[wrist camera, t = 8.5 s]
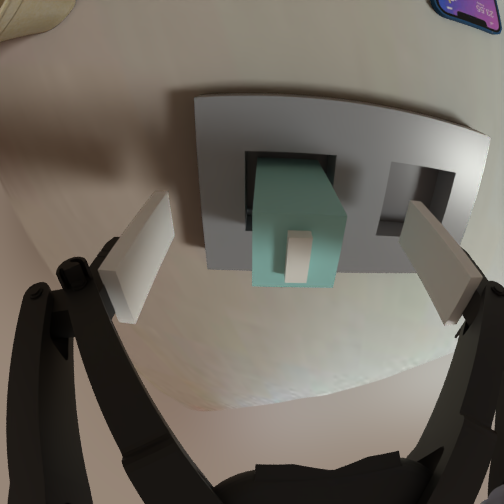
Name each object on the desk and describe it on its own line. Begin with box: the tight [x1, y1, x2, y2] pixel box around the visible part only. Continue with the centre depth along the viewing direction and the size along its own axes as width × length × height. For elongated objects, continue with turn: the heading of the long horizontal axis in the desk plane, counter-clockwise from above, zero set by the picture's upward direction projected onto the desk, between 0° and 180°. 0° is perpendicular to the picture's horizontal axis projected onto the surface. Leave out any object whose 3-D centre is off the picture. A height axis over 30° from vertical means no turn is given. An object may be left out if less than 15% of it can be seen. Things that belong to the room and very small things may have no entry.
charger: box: [252, 157, 347, 288], centre depth 16 cm, size 4×4×9 cm
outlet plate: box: [194, 93, 491, 273], centre depth 18 cm, size 12×20×2 cm, turn 90°
